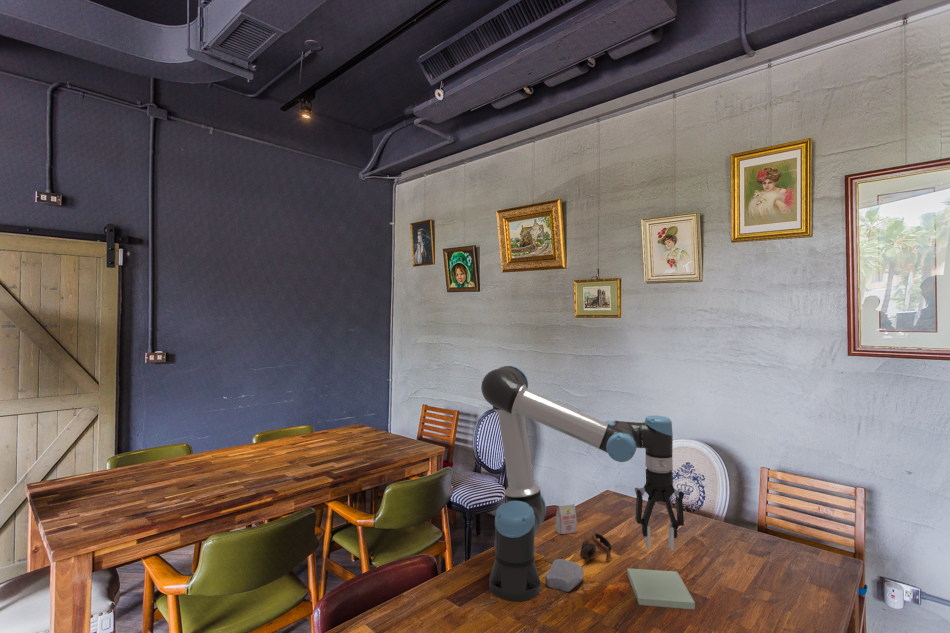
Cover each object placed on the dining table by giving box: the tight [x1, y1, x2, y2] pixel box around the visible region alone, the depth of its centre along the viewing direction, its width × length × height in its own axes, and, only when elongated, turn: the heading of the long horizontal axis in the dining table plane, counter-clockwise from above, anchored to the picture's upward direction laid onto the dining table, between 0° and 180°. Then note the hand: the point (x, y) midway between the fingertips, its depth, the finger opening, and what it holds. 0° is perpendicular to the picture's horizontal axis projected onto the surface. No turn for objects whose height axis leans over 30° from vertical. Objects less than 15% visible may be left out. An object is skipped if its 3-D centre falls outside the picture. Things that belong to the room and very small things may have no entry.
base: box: [626, 567, 696, 610], centre depth 138 cm, size 15×16×2 cm
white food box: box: [555, 503, 577, 535], centre depth 177 cm, size 4×7×10 cm, turn 106°
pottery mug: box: [579, 532, 613, 562], centre depth 156 cm, size 12×9×8 cm
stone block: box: [545, 558, 584, 593], centre depth 142 cm, size 12×5×10 cm
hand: (659, 547), depth 138 cm, fingers open, 6 cm apart
